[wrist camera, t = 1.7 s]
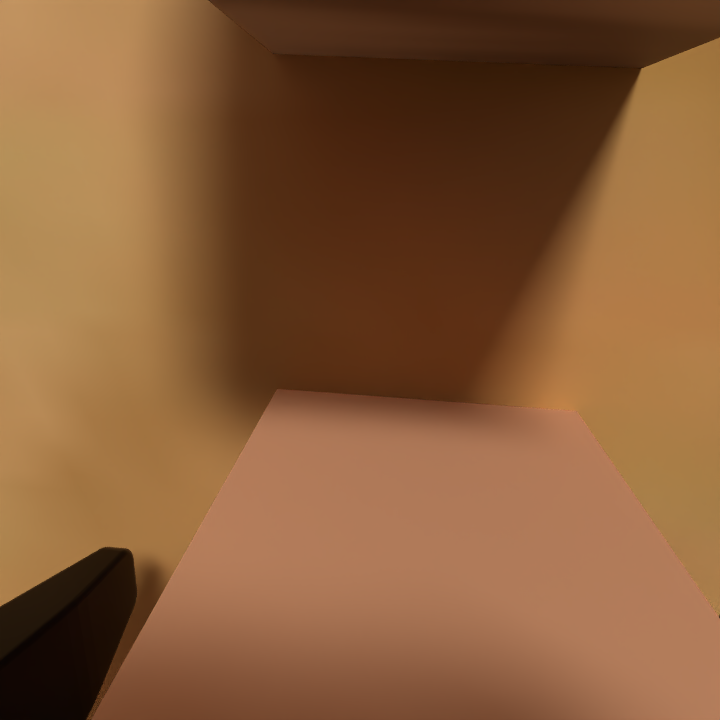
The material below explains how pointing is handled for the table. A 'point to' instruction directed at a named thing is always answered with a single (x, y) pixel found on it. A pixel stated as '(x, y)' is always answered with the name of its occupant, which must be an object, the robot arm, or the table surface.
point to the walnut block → (482, 29)
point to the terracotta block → (423, 578)
